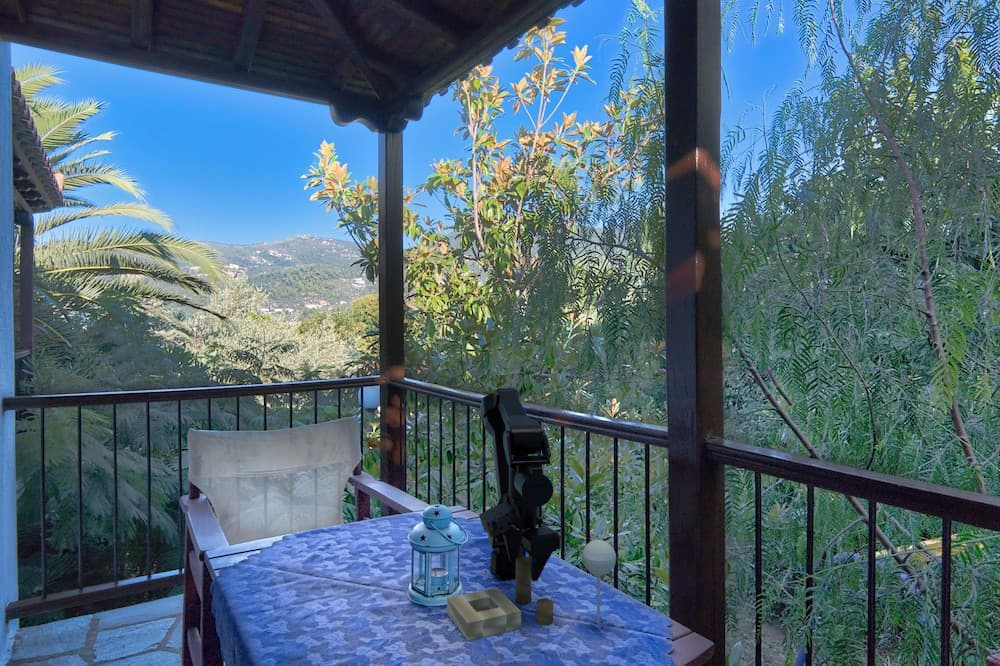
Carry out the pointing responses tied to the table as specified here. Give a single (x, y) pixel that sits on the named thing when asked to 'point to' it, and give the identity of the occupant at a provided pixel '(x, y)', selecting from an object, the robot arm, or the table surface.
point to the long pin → (523, 581)
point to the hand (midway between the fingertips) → (523, 571)
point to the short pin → (544, 611)
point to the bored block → (483, 613)
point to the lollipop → (599, 563)
